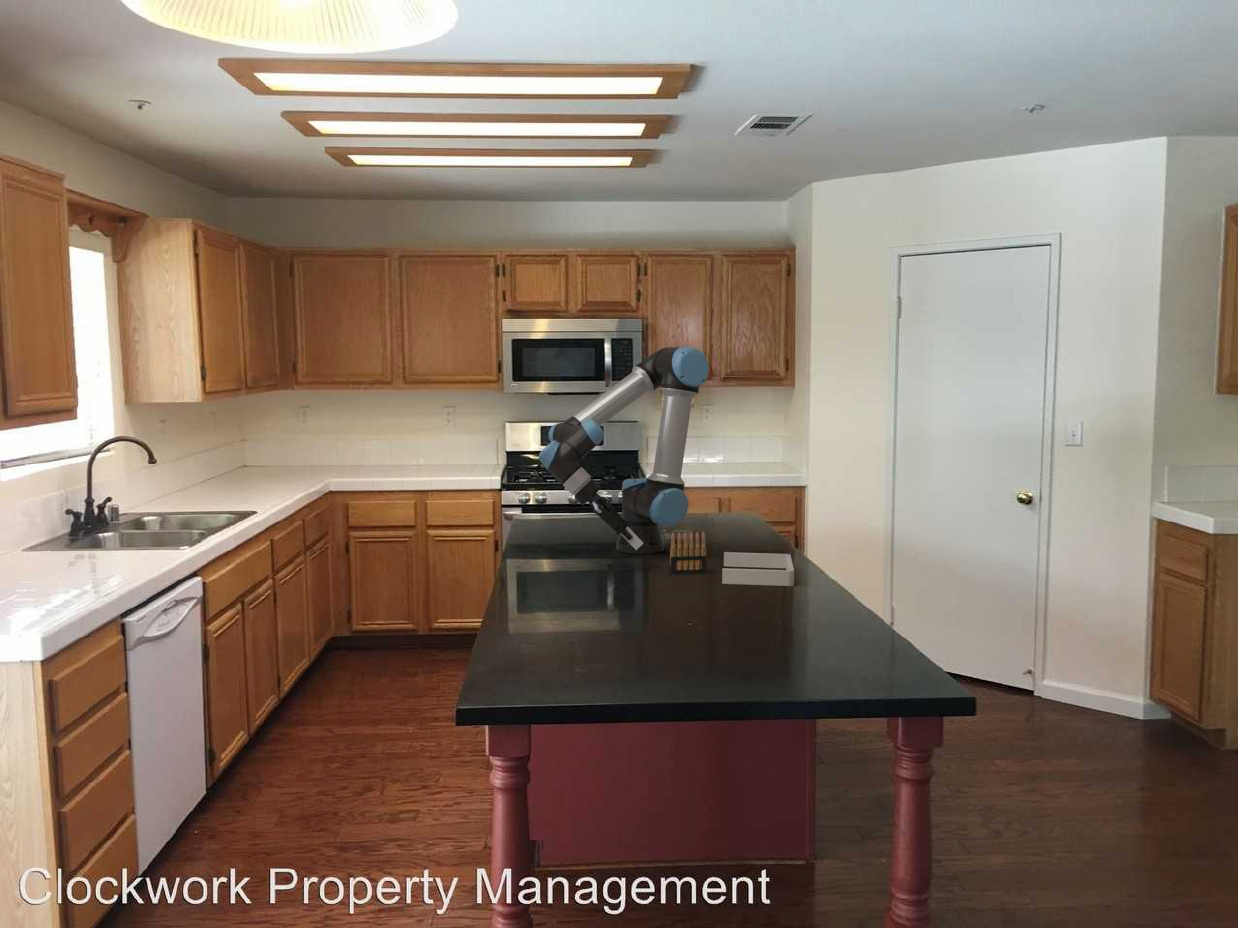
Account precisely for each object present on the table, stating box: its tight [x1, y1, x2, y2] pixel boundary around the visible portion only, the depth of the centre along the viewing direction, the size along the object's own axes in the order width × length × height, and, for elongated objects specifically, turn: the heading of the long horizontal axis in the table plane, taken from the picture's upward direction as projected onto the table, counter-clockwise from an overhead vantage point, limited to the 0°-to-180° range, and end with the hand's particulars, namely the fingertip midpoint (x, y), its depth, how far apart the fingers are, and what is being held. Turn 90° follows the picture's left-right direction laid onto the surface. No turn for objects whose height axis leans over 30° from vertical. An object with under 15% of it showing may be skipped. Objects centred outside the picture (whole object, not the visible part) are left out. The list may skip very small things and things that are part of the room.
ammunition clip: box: [668, 531, 708, 575], centre depth 263 cm, size 11×2×12 cm, turn 98°
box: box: [721, 551, 795, 587], centre depth 261 cm, size 22×19×4 cm
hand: (639, 546), depth 264 cm, fingers closed
